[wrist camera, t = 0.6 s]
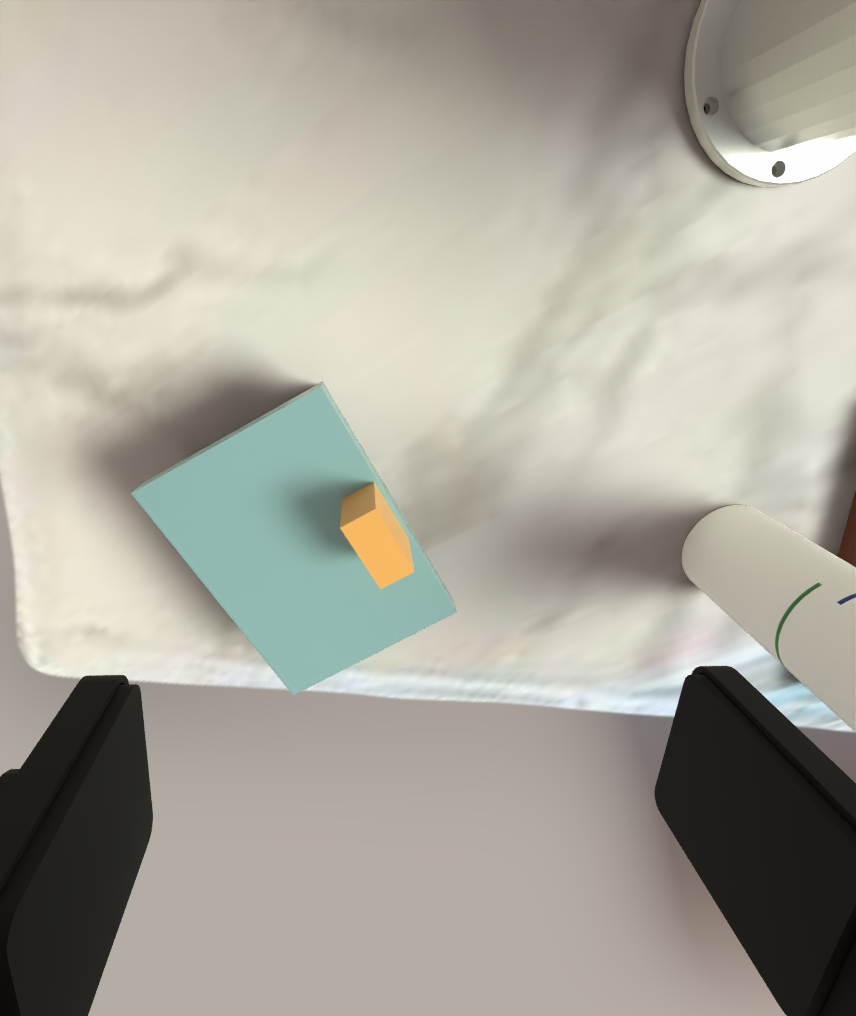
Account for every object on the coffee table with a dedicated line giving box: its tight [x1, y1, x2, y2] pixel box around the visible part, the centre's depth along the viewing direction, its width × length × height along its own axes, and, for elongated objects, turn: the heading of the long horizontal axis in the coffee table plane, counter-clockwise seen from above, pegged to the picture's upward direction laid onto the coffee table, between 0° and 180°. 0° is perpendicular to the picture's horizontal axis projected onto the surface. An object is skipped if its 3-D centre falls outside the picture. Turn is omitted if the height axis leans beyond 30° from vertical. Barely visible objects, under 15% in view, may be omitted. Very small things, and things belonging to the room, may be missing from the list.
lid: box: [131, 382, 457, 695], centre depth 32 cm, size 12×16×6 cm
